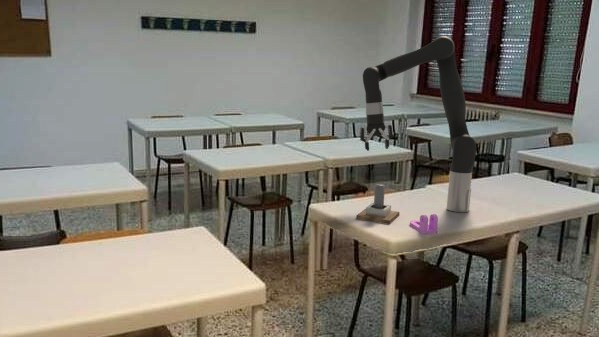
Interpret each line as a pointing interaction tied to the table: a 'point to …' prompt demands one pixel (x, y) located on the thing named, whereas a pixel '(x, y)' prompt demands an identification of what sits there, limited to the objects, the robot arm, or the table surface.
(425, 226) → the bracket
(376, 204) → the peg
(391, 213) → the socket board
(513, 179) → the table surface
